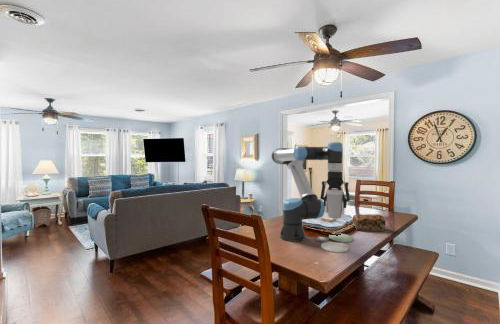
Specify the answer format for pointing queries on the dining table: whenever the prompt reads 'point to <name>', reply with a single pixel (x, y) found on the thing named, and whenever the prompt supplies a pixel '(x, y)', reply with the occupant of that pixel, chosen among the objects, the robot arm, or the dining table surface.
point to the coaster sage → (341, 238)
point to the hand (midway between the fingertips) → (334, 213)
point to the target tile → (322, 239)
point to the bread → (369, 222)
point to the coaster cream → (335, 247)
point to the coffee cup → (334, 203)
